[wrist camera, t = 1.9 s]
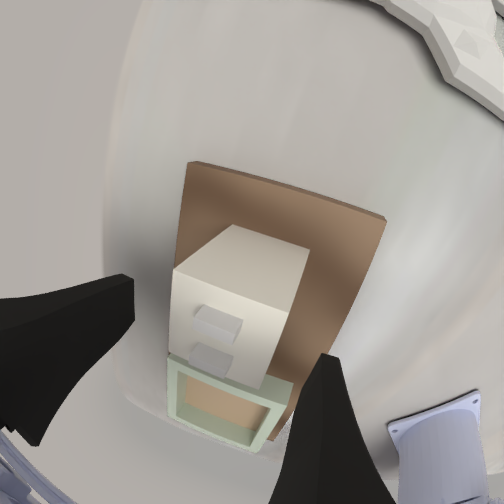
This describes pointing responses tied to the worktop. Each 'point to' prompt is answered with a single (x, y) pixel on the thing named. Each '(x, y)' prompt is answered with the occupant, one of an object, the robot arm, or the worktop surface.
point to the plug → (234, 303)
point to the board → (295, 232)
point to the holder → (225, 404)
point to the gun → (460, 43)
